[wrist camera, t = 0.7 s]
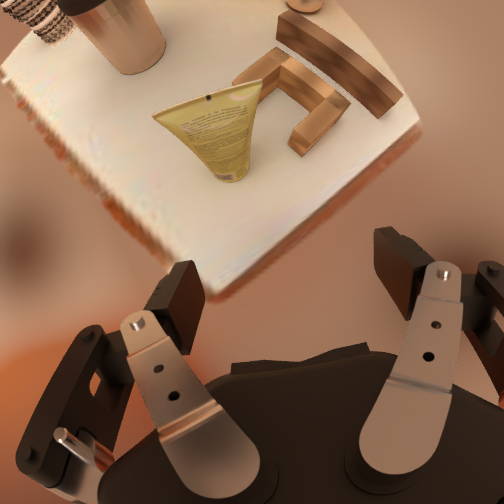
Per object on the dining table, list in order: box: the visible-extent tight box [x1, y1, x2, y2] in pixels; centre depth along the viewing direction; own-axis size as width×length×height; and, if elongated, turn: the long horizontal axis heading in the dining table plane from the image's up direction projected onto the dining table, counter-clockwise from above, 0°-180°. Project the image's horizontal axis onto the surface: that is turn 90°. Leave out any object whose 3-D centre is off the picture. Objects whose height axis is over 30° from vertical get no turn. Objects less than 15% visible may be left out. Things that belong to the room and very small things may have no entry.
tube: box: [151, 79, 263, 182], centre depth 24 cm, size 6×5×20 cm
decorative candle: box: [0, 0, 76, 46], centre depth 19 cm, size 9×9×25 cm
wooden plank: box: [276, 9, 403, 119], centre depth 30 cm, size 20×2×6 cm, turn 48°
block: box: [232, 47, 351, 157], centre depth 30 cm, size 12×8×6 cm, turn 48°
